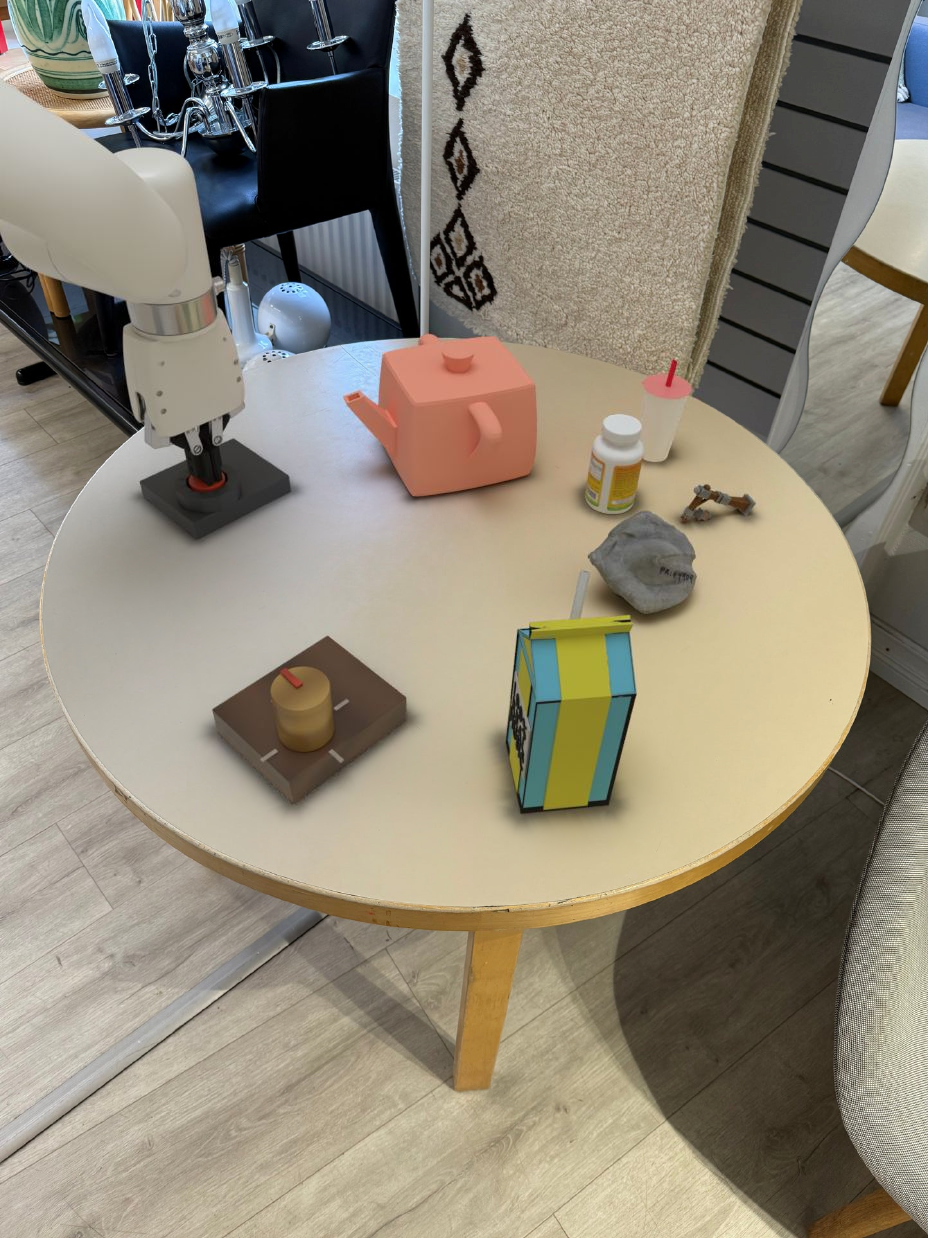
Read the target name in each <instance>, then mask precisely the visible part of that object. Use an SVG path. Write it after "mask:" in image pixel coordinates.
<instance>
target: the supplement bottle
mask: <svg viewBox="0 0 928 1238" xmlns="http://www.w3.org/2000/svg"><path fill="white" fill-rule="evenodd" d="M640 421H641V420H639V419H638V418H637V417H634V416H632V415H629V414H624V413H616V414H615V413H614V414H610V415H608V416H606V417H605V418H603V421H602V425H601V431H600V432H601V433H600V434H599V435H597V436H596V437H595V439H594V440H593V443H592V446H591V453H590V460H589V466H588V472H587V479H586V485H585V494H584V498H585V501H586V503H587V505H588V506H589V507H590V508H592V509H593V510H594V511H596V512H598V513H602V514H606V515H607V514H608V515H619V514H623V513H626V512H628V511H630V509H631V508H632V507H633V506H634V503H635V501H636V500H635V499H636V496H637V495H636V494H637V490H638V484H639V480H640V475H641V469H642V464H643V460H644V459H643V455H644V447H643V444H642V442H641V441H640V440H639V439H640V436H641V430H642V425H641V422H640Z"/></svg>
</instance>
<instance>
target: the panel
mask: <svg viewBox="0 0 928 1238" xmlns="http://www.w3.org/2000/svg"><path fill="white" fill-rule="evenodd" d="M295 667H311V668H315V669H317V670H319V671H321V672H322V673H324V674H325V675H326V677H327V678H328V680H329V682H330V690H331V699H332V708H333V718H334V727H335V728H334V734H333V736H332V738H331V739H330V741H329V742H328V743H327V744H326V745H324V746H323V747H321V748H319V749H317V750H314V751H310V752H297V751H293V750H291V749H289V748H287V747H286V746H284V745H283V744H282V743H281V741H280V739H279V737H278V732H277V726H276V720H275V715H274V709H273V703H272V698H271V686H272V683H273V681H274V680H275V679H276V678H277V676H279V675H280V671H281V670H283V669H285V668H286V669H291V668H295ZM407 709H408V708H407V697H406V696H405V694H403V693H401V692H400V691H399V690H398V689H397V688H395V687H394V686H393V685H392V684H391V683H389V682H387V680H385V679H384V678H383V677H382V676H380V675H379V674H377V673H376V672H375V671H373V670H372V669H371V668H370V667H369V666H368V665H366V664H365V663H363V662H362V660H359V659H358V658H357V657H356V656H355V655H354V654H352V653H351V652H350V651H348V650H347V649H346V648H345V647H343V646H342V645H340V643H338V642H337V641H336V640H334V639H333V638H332V637H330V636H329V635H326V636H324V637H323V638H321V639H320V640H318V641H316V642H315V643H313V644H312V645H310V646H309V647H307V648H305V649H304V650H302V651H301V652H299V653H298V654H295V656H293V657H291V658H289V659H288V660H287V661H285V662H284V663H282V664H280V665H279V666H277V667H275V668H274V669H273V670H271V671H270V672H268V673H266V674H265V675H263V676H262V677H260V678H259V679H257V680H255V681H254V682H252V683H251V684H249V685H247V686H246V687H244V688H243V689H242V690H239V691H238V692H236V693H235V694H234V695H232V696H231V697H229V698H227V699H225V700H224V701H223V702H221V703H219V704H218V705H216V706H215V707H213V708H212V709H211V711H212V715H213V719H214V722H215V727H216V730H217V734H219V735H220V737H222V738H223V739H224V741H226V742H227V743H228V744H229V745H230V746H231V747H232V748H233V749H235V751H236V752H237V753H238V754H240V755H241V756H242V757H243V759H245V760H246V761H247V762H248V763H249V764H250V765H251V766H252V767H253V768H255V770H256V771H257V772H258V773H259V774H261V775H262V777H264V778H265V779H266V780H267V781H268V782H269V783H270V784H271V785H272V786H273V787H274V788H275V789H276V790H277V791H279V792H280V793H281V794H282V795H283V796H284V798H286V800H288V801H289V802H290V803H291V805H295V804H297V803H298V802H300V801H301V800H302V799H304V798H305V797H306V796H308V795H309V794H310V793H311V792H313V791H315V790H316V789H317V788H319V786H321V785H322V784H324V783H325V782H326V781H327V780H329V779H331V778H332V777H333V776H334V775H336V774H338V772H340V771H341V770H343V769H344V768H345V767H346V766H348V765H349V764H350V763H352V762H353V761H354V760H356V759H357V758H358V757H360V756H361V755H362V754H364V753H365V752H366V751H368V750H369V749H370V748H372V747H373V746H375V745H376V744H377V743H378V742H380V741H381V740H383V739H384V738H385V737H387V736H388V735H389V734H391V733H392V732H393V731H394V730H396V729H397V728H398V727H400V726H401V725H403V724H404V723H405V722H407V720H408V714H407Z"/></svg>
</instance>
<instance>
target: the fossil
mask: <svg viewBox="0 0 928 1238" xmlns="http://www.w3.org/2000/svg"><path fill="white" fill-rule="evenodd" d="M696 555H697V554H696V551H695V548H694V546H693V544H692V542H691V541H689V538H688V537H687V535H686V534H685V532H682V531H681V530H680V529H678V528H676V526H675V525H673V524H671V523H668V522H667V521H665V520H664V519H662V517H660V516H659V515H657V514H656V513H653V512H652V511H650V510H641V511H638V512H637V513H635V514H633V515H631V516H630V517H628V518H626V519H623V520H622V521H621V522H619V523H618V524H616V526H614V527H613V528H612V529H611V530H610V531H609V532H608V534H607V537H606V538H605V539H604V541H603V542H602V543H600V545H598V547H596V548H595V549H594V550H592V551H591V552H589V554H587V558H588V559H589V562H590V563H591V565H592V566H594V567H595V569H596V570H597V572H598V573H599V575H600V576H601V578H602V579H603V580H604V582H605V583H606V584H607V586H608V587H610V590H611V591H612V593H613V594H615V595H617V596H620V597H622V598H623V599H624V600H625V601H626V602H627V603H628V604H629V605H630V606H631V607H633V608H634V609H635V610H637V611H638V612H640V613H642V614H645V615H647V614H653V613H657V612H660V611H663V610H668V609H670V608H672V607H674V606H676V605H680V603H682V602H683V601H685V600H686V599H687V598H688V597H689V596H690V594H691V593H692V591H693V590H694V588H695V585H696V581H697V578H698V576H697V573H696V572H695V571H694V569H693V562H694V561H695V559H697V556H696Z"/></svg>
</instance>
